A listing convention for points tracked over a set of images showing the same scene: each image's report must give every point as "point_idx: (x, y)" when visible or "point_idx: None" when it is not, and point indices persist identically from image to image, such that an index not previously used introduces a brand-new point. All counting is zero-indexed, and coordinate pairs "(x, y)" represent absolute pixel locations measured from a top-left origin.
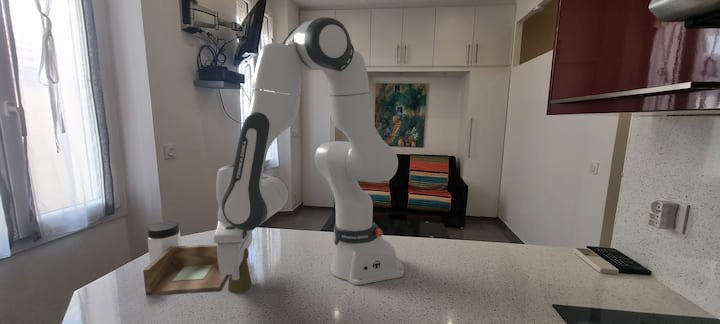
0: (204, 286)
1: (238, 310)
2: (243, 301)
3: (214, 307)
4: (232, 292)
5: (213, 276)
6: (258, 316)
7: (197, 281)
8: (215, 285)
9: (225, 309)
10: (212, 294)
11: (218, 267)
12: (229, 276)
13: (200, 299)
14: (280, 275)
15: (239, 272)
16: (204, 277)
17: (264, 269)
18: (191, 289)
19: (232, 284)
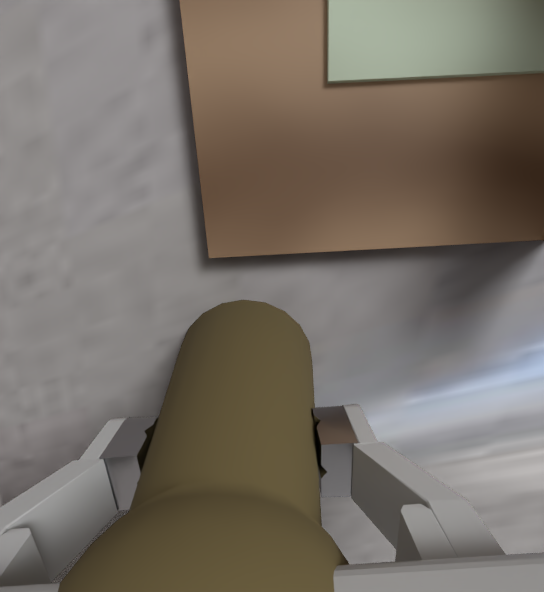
0: (219, 141)
1: (31, 413)
2: (106, 415)
3: (35, 290)
4: (183, 341)
5: (363, 156)
6: (6, 498)
7: (297, 39)
8: (229, 223)
9: (28, 353)
10: (162, 228)
11: (508, 143)
12: (196, 362)
13: (102, 168)
14: (341, 519)
15: (115, 509)
16: (353, 81)
17: (422, 440)
18: (184, 40)
19: (176, 365)
